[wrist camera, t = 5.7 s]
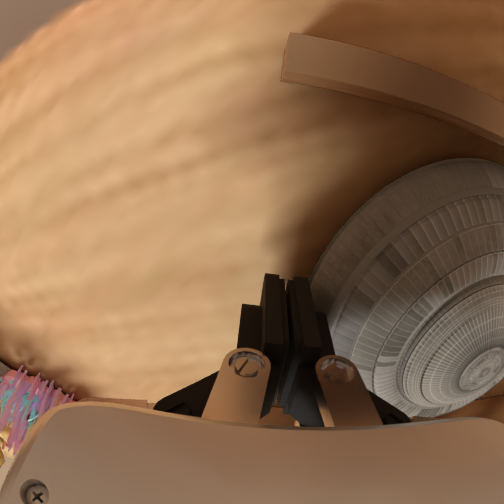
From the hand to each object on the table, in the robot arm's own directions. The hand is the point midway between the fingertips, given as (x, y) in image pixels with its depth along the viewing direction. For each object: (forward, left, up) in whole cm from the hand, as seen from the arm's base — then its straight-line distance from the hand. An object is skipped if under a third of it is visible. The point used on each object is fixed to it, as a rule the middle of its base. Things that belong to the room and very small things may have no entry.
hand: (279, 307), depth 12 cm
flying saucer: (-8, 0, -2) cm, 9 cm away
